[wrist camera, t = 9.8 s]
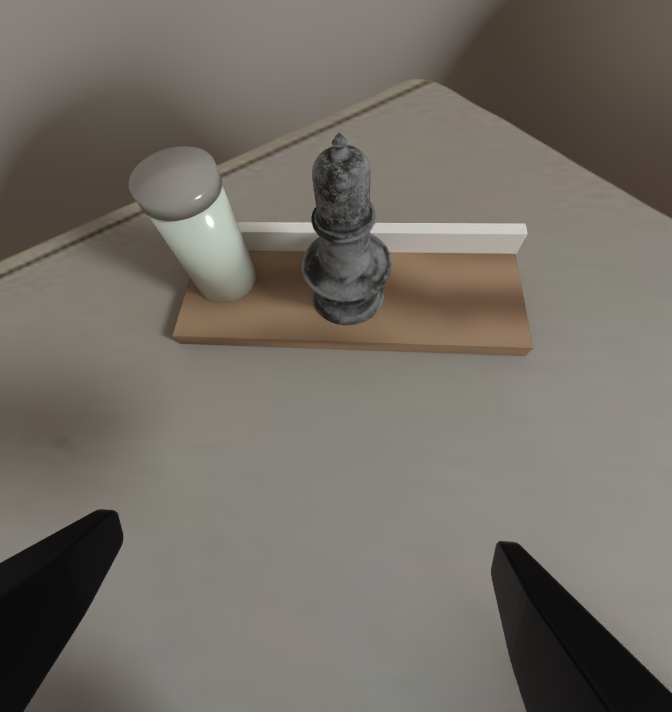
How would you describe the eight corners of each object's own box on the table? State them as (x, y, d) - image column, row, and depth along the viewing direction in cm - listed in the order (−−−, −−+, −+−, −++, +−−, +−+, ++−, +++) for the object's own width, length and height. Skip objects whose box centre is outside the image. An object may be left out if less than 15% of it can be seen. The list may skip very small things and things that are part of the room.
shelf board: (525, 355, 24) (533, 348, 23) (180, 343, 27) (172, 335, 25) (507, 254, 28) (513, 243, 27) (206, 250, 30) (201, 240, 29)
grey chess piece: (403, 284, 26) (433, 116, 15) (358, 343, 24) (357, 200, 13) (338, 251, 28) (324, 79, 17) (292, 304, 26) (243, 149, 15)
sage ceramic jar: (199, 310, 26) (128, 215, 18) (194, 262, 28) (128, 157, 20) (262, 295, 27) (220, 194, 18) (252, 248, 29) (211, 139, 20)
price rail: (510, 264, 28) (527, 234, 25) (205, 259, 30) (188, 231, 27) (508, 252, 28) (524, 221, 25) (208, 248, 30) (192, 220, 28)
